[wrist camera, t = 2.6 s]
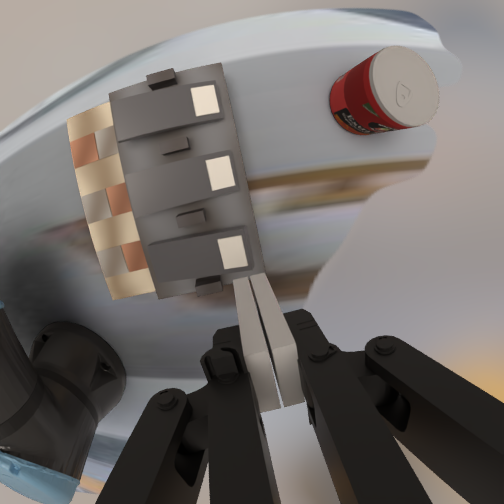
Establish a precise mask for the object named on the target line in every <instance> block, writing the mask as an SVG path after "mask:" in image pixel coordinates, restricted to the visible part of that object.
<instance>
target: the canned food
mask: <svg viewBox="0 0 504 504" xmlns="http://www.w3.org/2000/svg"><path fill="white" fill-rule="evenodd" d="M438 104H439V89H438V84H437V81H436V78H435V76H434V74H433V72H432V70H431V68H430V67H429V65H428V64H427V63H426V62H425V60H424V59H423V58H422V57H420V56H419V55H418V54H417V53H415V52H414V51H412V50H410V49H408V48H406V47H402V46H390V47H387V48H384V49H382V50H380V51H379V52H377V53H375V54H374V55H372V56H370V57H369V58H367V59H366V60H364V61H363V62H361V63H360V64H358V65H357V66H355V67H354V68H353V69H351V70H350V71H348V72H347V73H345V74H344V75H342V76H341V77H340V78H338V79H337V81H336V82H335V83H334V85H333V87H332V90H331V93H330V107H331V111H332V113H333V115H334V117H335V119H336V120H337V122H338V123H339V124H340V125H341V126H342V127H343V128H345V129H346V130H348V131H350V132H352V133H355V134H359V135H369V134H375V133H381V132H387V131H393V130H400V129H407V128H412V127H418V126H421V125H424V124H426V123H428V122H429V121H430V120H431V119H432V118H433V117H434V115H435V114H436V112H437V109H438Z"/></svg>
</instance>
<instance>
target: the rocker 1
mask: <svg viewBox="0 0 504 504" xmlns="http://www.w3.org/2000/svg"><path fill="white" fill-rule="evenodd" d="M111 102H112V109H113V115H114V121H115V127H116V132H117V138H118V142H119V143H123V142H126V141H130V140H133V139H137V138H141V137H145V136H149V135H153V134H157V133H161V132H165V131H169V130H174V129H178V128H183V127H188V126H193V125H198V124H203V123H208V122H214V121H220V120H221V119H222V118H224V117H223V113H222V108H221V103H220V99H219V94H218V89H217V85H216V80H212V81H205V82H198V83H192V84H186V85H180V86H175V87H170V88H164V89H160V90H155V91H150V92H146V93H142V94H137V95H133V96H129V97H126V98H122V99H118V100H115V101H111Z"/></svg>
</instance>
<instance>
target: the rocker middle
mask: <svg viewBox="0 0 504 504" xmlns="http://www.w3.org/2000/svg"><path fill="white" fill-rule="evenodd" d="M125 177H126V181H127V186H128V190H129V194H130V198H131V202H132V206H133V210H134V214H135V218H137V217H141V216H144V215H147V214H151V213H154V212H158V211H161V210H165V209H168V208H172V207H176V206H179V205H183V204H187V203H190V202H194V201H198V200H202V199H206V198H210V197H213V196H217V195H221V194H225V193H230V192H234V191H238V190H239V188H238V183H237V178H236V174H235V169H234V164H233V160H232V155H231V150H225V151H220V152H215V153H211V154H206V155H202V156H197V157H193V158H188V159H184V160H180V161H176V162H172V163H168V164H164V165H160V166H156V167H152V168H149V169H145V170H141V171H138V172H134V173H131V174H127V175H125Z"/></svg>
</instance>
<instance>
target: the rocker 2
mask: <svg viewBox="0 0 504 504" xmlns="http://www.w3.org/2000/svg"><path fill="white" fill-rule="evenodd" d="M147 249H148V252H149V255H150V259H151V262H152V265H153V269H154V272H155V275H156V278H157V281H158V283H162V282H170V281H177V280H185V279H192V278H200V277H207V276H214V275H221V274H229V273H236V272H243V271H250V270H253V268H254V260H253V255H252V251H251V246H250V241H249V237H248V232H247V227H246V225H243V226H238V227H232V228H227V229H221V230H215V231H210V232H205V233H199V234H194V235H189V236H183V237H178V238H173V239H168V240H163V241H157V242H152V243H151V244H149V245H148V246H147Z"/></svg>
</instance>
